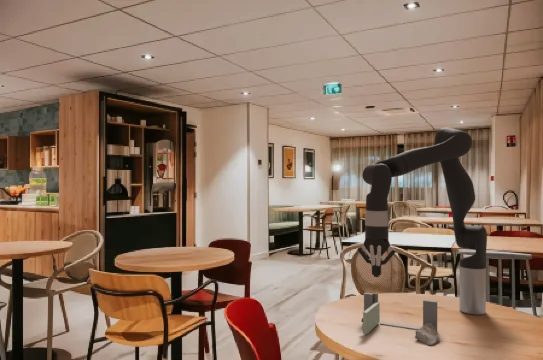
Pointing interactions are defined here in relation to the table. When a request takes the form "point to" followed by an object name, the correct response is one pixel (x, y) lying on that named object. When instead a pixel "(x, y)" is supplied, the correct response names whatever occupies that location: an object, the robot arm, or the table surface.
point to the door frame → (428, 317)
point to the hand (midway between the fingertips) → (376, 276)
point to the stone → (427, 334)
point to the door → (371, 317)
